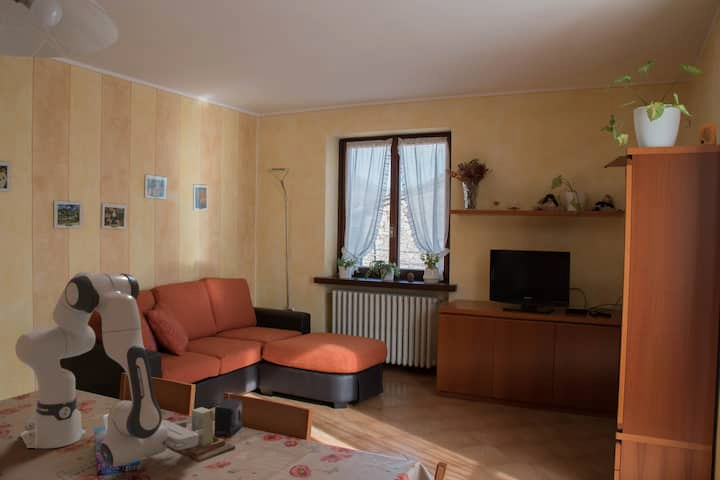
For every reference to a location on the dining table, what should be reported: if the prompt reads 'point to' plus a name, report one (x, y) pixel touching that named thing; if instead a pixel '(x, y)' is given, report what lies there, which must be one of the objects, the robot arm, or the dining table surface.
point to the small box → (228, 417)
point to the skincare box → (203, 425)
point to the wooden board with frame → (208, 449)
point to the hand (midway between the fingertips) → (193, 427)
